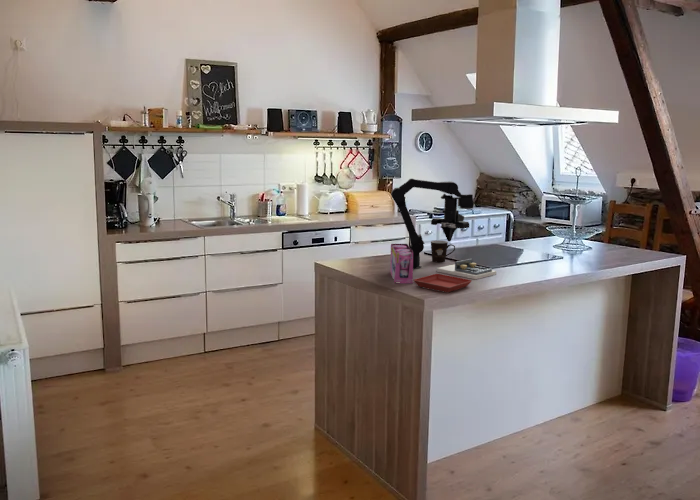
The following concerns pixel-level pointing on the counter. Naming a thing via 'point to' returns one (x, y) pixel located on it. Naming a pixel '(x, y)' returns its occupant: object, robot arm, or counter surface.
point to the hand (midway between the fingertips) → (449, 241)
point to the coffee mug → (439, 250)
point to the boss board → (451, 270)
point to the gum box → (401, 263)
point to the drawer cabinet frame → (469, 269)
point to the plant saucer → (442, 282)
